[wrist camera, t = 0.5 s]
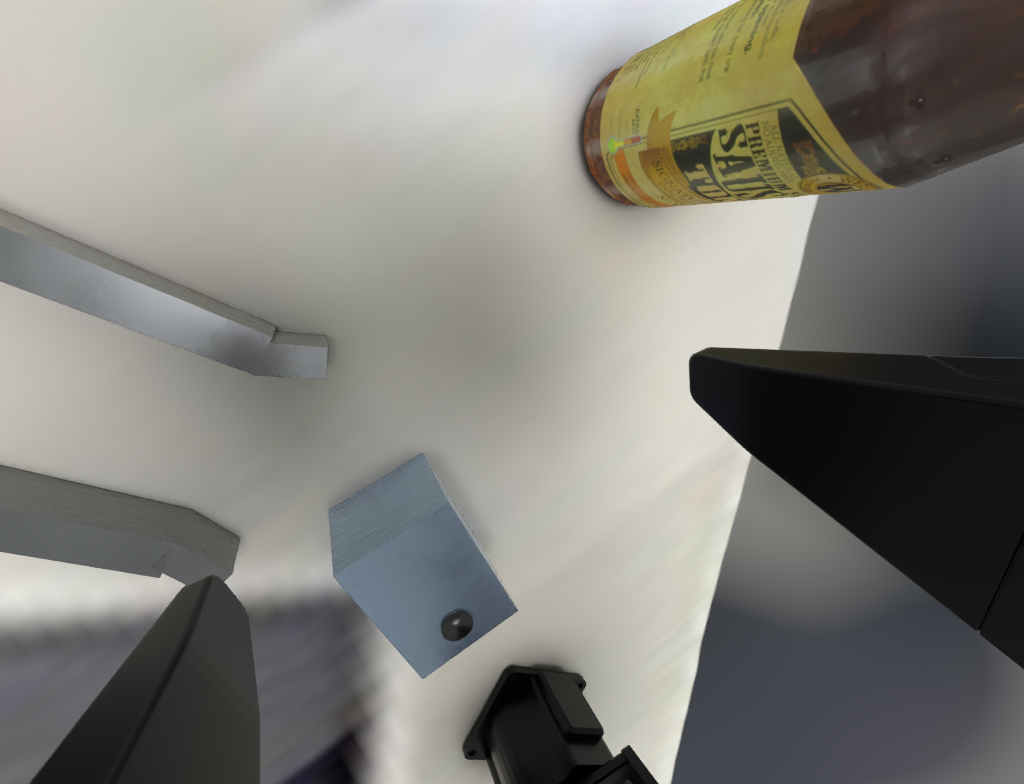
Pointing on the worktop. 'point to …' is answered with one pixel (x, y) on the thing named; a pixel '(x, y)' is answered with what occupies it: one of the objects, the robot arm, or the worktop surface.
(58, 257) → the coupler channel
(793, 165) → the sauce bottle
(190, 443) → the worktop surface
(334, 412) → the worktop surface
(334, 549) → the block
